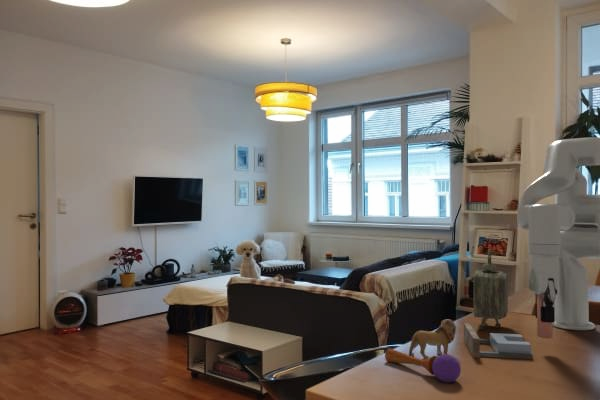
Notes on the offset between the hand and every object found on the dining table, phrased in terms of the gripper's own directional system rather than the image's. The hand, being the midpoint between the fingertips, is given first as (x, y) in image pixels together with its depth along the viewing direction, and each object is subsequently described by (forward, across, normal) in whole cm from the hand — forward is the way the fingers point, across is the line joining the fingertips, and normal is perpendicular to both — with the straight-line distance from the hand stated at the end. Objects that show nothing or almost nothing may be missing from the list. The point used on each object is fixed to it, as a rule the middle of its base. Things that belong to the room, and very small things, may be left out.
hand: (544, 319), depth 124 cm
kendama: (+10, +20, -33) cm, 40 cm away
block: (+9, -1, -9) cm, 12 cm away
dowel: (+4, 0, 0) cm, 4 cm away
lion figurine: (+9, +7, -29) cm, 31 cm away
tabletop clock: (+9, -25, -8) cm, 28 cm away
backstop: (+9, -1, -12) cm, 15 cm away
